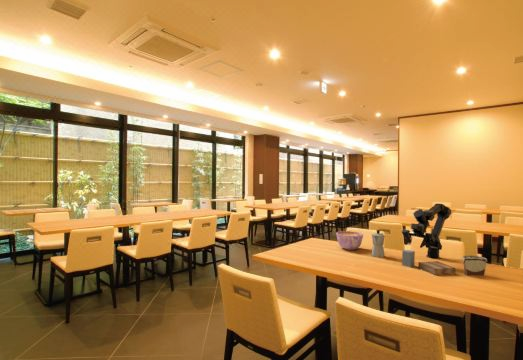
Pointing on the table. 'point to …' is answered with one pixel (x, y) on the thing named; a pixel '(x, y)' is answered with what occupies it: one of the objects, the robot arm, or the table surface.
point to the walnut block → (436, 268)
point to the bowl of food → (349, 239)
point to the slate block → (408, 258)
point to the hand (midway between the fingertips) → (412, 246)
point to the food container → (474, 265)
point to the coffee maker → (378, 245)
